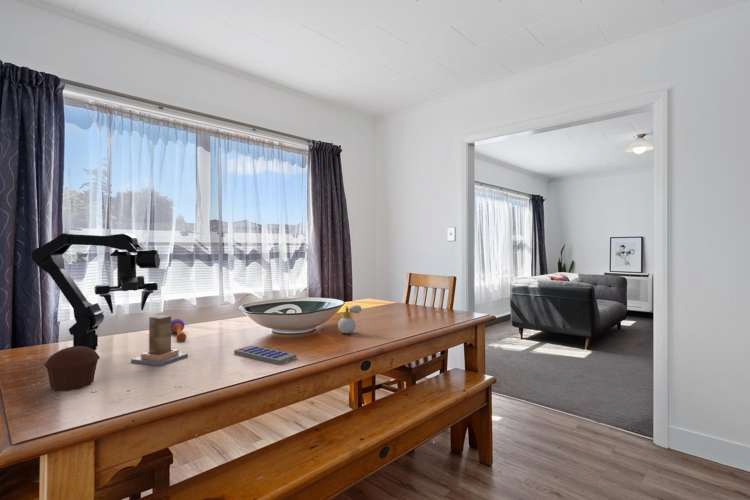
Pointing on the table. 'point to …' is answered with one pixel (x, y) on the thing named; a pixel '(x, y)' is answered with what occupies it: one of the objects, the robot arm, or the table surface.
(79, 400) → the table surface
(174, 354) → the baseplate
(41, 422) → the table surface
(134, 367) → the table surface
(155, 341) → the walnut post
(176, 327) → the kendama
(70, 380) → the muffin
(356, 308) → the perfume bottle
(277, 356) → the remote control
